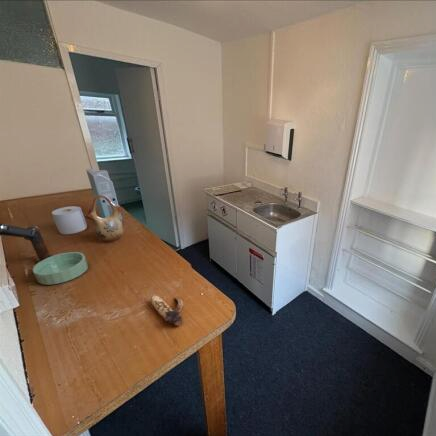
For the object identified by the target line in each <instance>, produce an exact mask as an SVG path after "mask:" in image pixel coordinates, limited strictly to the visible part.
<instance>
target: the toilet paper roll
mask: <svg viewBox="0 0 436 436" xmlns="http://www.w3.org/2000/svg"><path fill="white" fill-rule="evenodd" d="M84 215H85V214H84V213H83V210H82V208H81V207H80V206H64V207H59V208H57V209H54V210H53V211H52V212H51V216H52V218H53V220H54V224H55V226H56V228H57V230H58V232H59V234H61V235H73V234H77V233H81V232H83V231H85V230H86V229H88V225H87V221H86V217H84Z"/></svg>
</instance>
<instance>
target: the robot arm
mask: <svg viewBox="0 0 436 436" xmlns="http://www.w3.org/2000/svg"><path fill="white" fill-rule="evenodd" d="M26 228H27V227H26ZM26 228H25V227H20V226H16V225H10V224H7V223H3V222H2V223H1V222H0V236H5V237H16V238H23V239H25V240H26V241H30V242H31V241H33V242H36V243H40V240H41V236H42V235H41V236H39V235H37V234H35V232H36V230H31V229H26Z"/></svg>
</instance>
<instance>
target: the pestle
mask: <svg viewBox="0 0 436 436" xmlns="http://www.w3.org/2000/svg"><path fill="white" fill-rule="evenodd" d="M26 229H31V230H36V232H35V234H37V235H39V236H41V240H40V243H36V242H33V241H30V243H31V245H32V248H33V249H34V252H35V255H36V256H37V257H36V259H35V260H36V262H37V263H39V262H40V261H42V260H44V259H46V258H49V257H51V256H54V255H53V254H52V253H50V252H49V250H48V247H47V245H46V243H45V240H44V238H43V235H42V233H41V231H40V228H39V226H36V225H29V226H27V227H26Z"/></svg>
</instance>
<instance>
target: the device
mask: <svg viewBox="0 0 436 436" xmlns="http://www.w3.org/2000/svg"><path fill="white" fill-rule="evenodd" d="M85 171H86V175H87V177H88V180H89V184H90V187H91V190H92V194H93V197H94V198H95V197H97V196H99V195H103V196H106V197H108V198H109V200H110V201H111V202H112V203H113V204H114V205H116V206H119V207H120V205H119V202H118V199H117V194H116V190H115V186H114V184H113V183H114V181H112V180H111V178H110V176H109V171H108V170H106V169H99V170H96V169H93V168H88V169H85ZM94 198H93V199H94ZM96 207H97V210H98V213H99V217H100V218H107V217H109V216H111V215H112V213H113V210H112V207H111V205H110V204H109V202H108V201H107V200H106V199H105V198H98V199H97V200H96ZM119 219H120V221H121V222H122V223H123V217H122V213H121V212H120V214H119Z"/></svg>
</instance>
